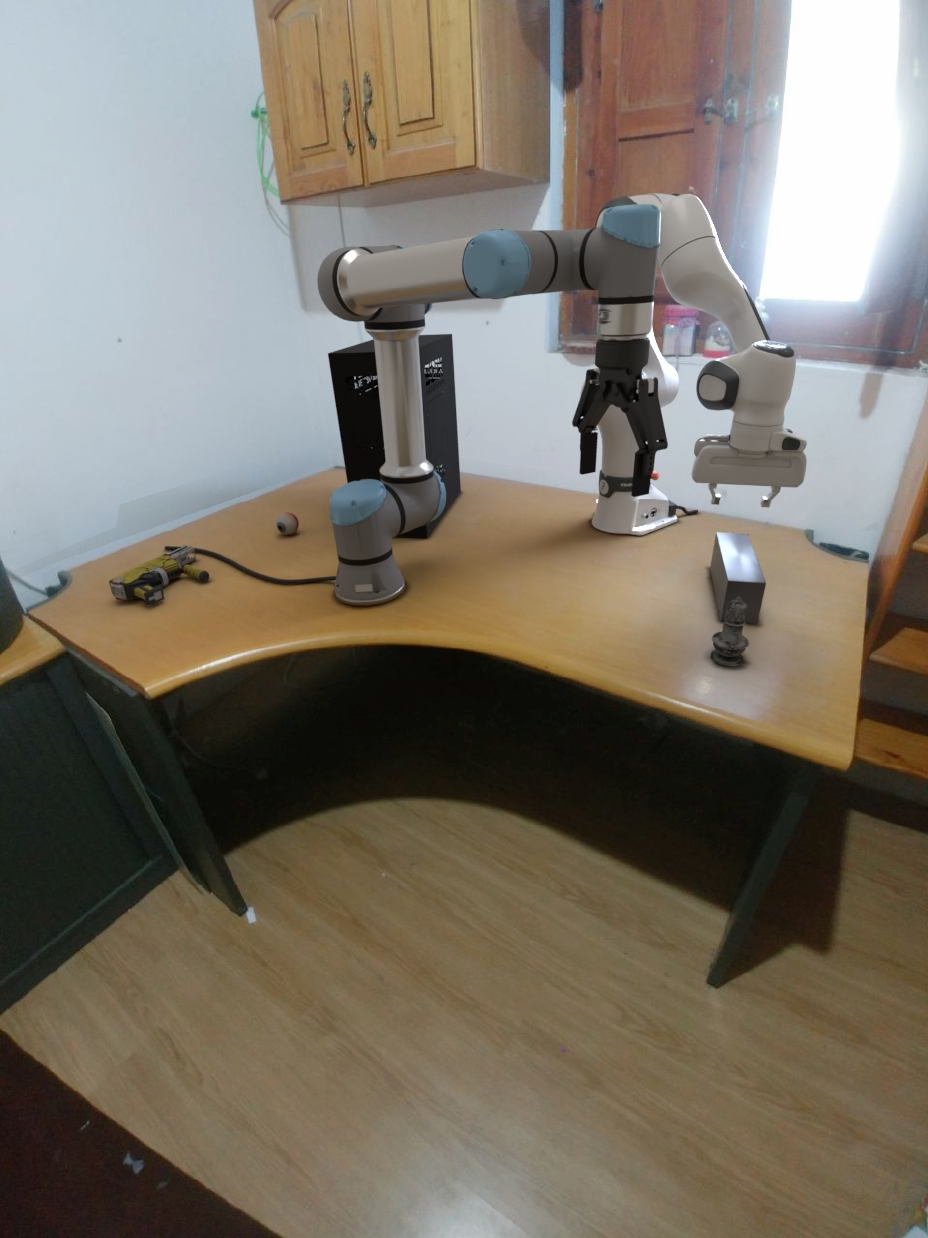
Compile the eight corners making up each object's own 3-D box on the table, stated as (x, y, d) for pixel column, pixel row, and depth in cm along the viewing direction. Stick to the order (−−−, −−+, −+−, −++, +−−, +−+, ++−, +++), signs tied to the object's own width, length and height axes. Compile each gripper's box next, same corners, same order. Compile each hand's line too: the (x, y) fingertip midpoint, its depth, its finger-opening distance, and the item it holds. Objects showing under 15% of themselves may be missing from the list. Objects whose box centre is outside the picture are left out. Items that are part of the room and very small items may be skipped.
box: (709, 568, 134) (716, 531, 130) (741, 570, 132) (748, 533, 128) (720, 621, 114) (728, 580, 110) (757, 624, 113) (766, 583, 108)
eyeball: (273, 537, 164) (268, 516, 161) (287, 528, 169) (282, 508, 166) (291, 539, 161) (286, 518, 158) (305, 530, 166) (301, 510, 163)
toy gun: (232, 553, 147) (182, 542, 151) (158, 593, 127) (102, 580, 131) (234, 570, 150) (185, 559, 154) (162, 613, 130) (107, 599, 134)
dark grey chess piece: (748, 668, 101) (762, 605, 95) (711, 665, 102) (722, 603, 96) (741, 649, 106) (754, 588, 100) (706, 647, 107) (717, 586, 101)
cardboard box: (427, 537, 157) (411, 350, 135) (355, 534, 162) (327, 353, 139) (460, 491, 189) (452, 333, 166) (399, 490, 194) (383, 336, 171)
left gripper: (553, 333, 94) (550, 468, 105) (661, 345, 74) (644, 510, 85) (593, 329, 97) (586, 461, 107) (708, 340, 77) (686, 500, 87)
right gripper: (697, 438, 114) (686, 507, 122) (816, 442, 110) (797, 513, 117) (695, 429, 119) (684, 496, 127) (809, 433, 115) (790, 502, 122)
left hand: (612, 483), depth 96 cm, fingers open, 13 cm apart
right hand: (739, 505), depth 122 cm, fingers open, 8 cm apart
